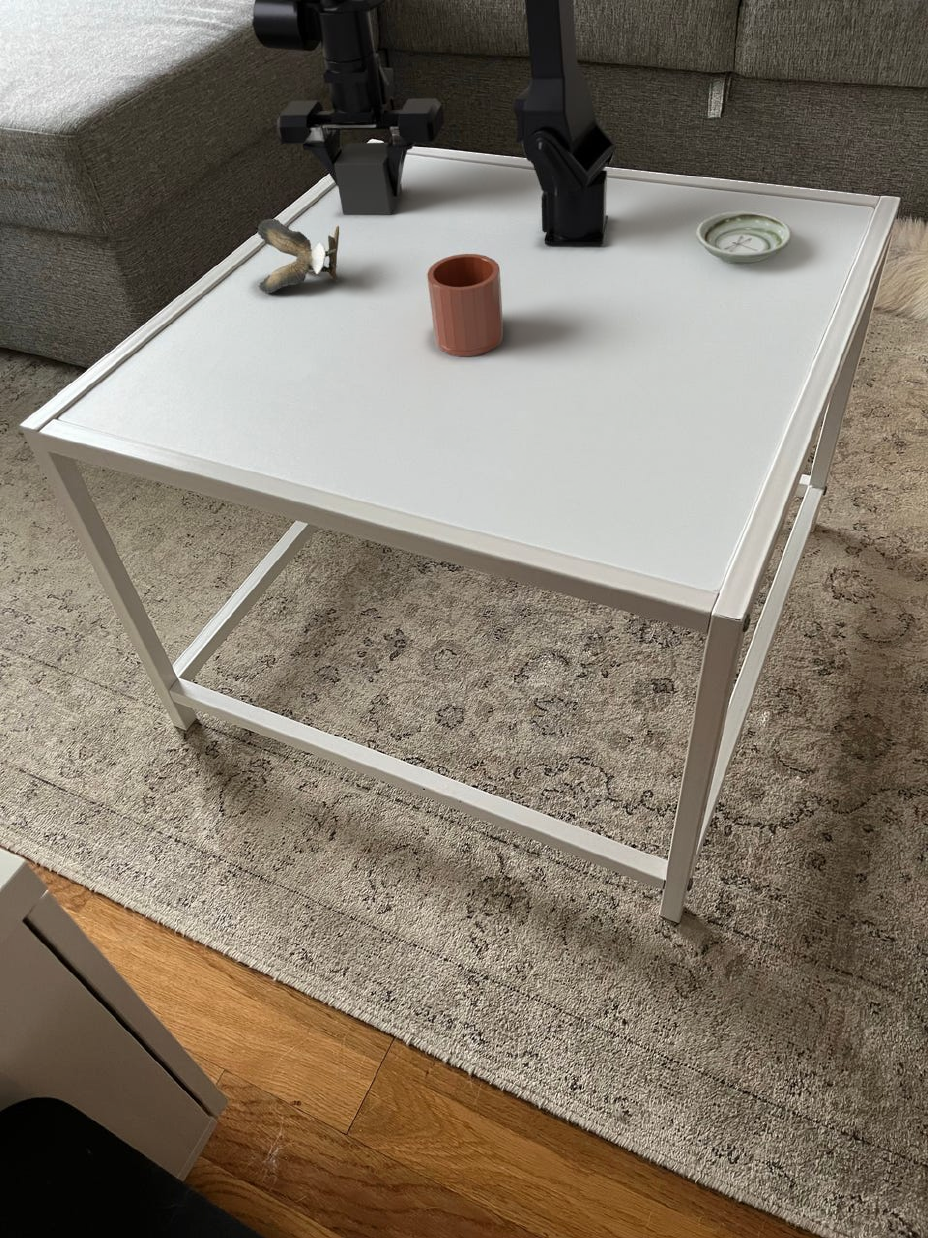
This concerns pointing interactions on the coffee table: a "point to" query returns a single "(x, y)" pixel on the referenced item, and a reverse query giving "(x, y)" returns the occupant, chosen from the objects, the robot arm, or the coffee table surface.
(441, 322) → the cup
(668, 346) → the coffee table surface
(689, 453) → the coffee table surface
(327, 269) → the eagle figurine
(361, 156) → the block
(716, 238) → the saucer
